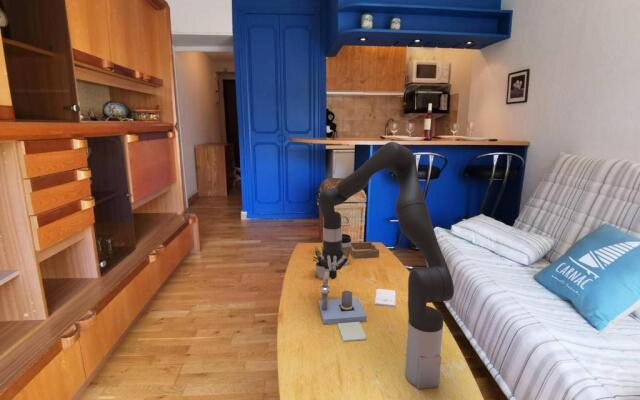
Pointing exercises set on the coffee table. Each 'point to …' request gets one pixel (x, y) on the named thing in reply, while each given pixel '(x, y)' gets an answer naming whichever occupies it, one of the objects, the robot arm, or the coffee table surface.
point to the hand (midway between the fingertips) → (333, 278)
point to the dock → (333, 311)
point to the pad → (351, 331)
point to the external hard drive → (385, 298)
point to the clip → (325, 284)
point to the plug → (346, 301)
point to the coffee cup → (345, 247)
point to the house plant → (319, 266)
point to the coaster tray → (366, 253)
